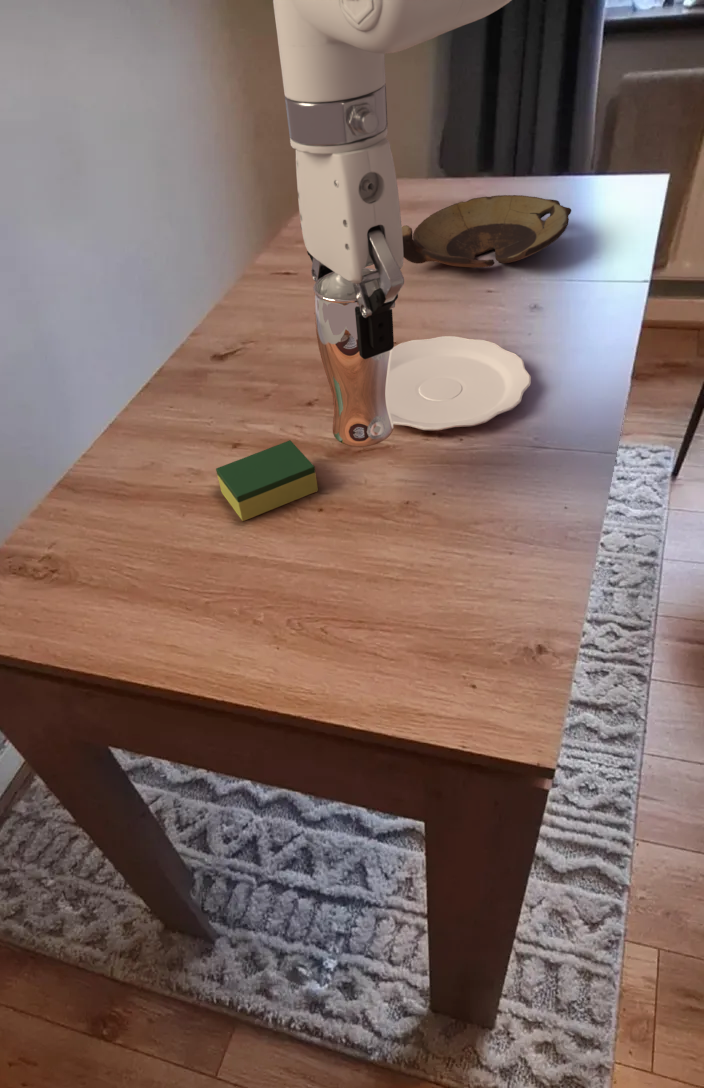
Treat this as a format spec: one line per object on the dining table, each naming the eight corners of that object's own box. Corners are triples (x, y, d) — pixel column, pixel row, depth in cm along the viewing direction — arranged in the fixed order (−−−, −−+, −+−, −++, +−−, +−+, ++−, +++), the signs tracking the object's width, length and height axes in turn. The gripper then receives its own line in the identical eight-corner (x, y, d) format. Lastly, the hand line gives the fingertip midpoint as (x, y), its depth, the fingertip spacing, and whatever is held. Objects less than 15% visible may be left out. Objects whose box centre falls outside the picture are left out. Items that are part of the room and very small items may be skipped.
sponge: (294, 464, 90) (290, 439, 88) (318, 491, 86) (314, 466, 84) (221, 492, 88) (215, 468, 85) (242, 521, 84) (236, 497, 81)
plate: (496, 454, 87) (497, 441, 86) (326, 422, 95) (325, 410, 94) (549, 360, 99) (550, 348, 98) (395, 339, 108) (394, 327, 106)
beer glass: (320, 447, 78) (300, 300, 68) (339, 408, 83) (323, 265, 72) (388, 452, 76) (379, 302, 66) (404, 413, 81) (398, 266, 70)
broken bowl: (580, 281, 114) (586, 225, 108) (370, 295, 118) (366, 242, 112) (560, 220, 129) (565, 169, 124) (375, 235, 133) (373, 186, 128)
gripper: (443, 128, 55) (443, 361, 68) (328, 86, 67) (346, 292, 79) (348, 155, 53) (366, 390, 66) (247, 107, 65) (278, 314, 77)
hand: (355, 335), depth 73 cm, fingers closed on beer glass, 7 cm apart
